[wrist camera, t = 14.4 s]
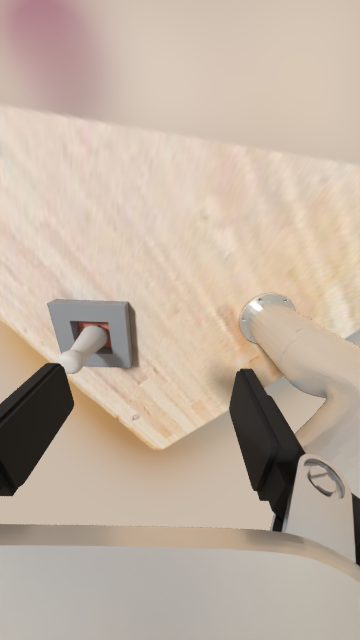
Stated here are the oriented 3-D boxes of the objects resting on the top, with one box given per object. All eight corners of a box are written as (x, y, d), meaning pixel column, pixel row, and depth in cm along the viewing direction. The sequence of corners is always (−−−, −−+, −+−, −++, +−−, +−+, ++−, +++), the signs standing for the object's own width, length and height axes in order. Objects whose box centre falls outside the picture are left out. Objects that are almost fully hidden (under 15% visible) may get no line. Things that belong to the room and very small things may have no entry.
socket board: (128, 301, 39) (124, 306, 36) (133, 360, 46) (130, 367, 43) (56, 299, 39) (47, 303, 36) (71, 358, 45) (64, 365, 43)
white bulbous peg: (109, 345, 44) (82, 382, 32) (85, 339, 43) (49, 376, 31) (111, 324, 41) (84, 357, 29) (87, 318, 41) (49, 349, 29)
